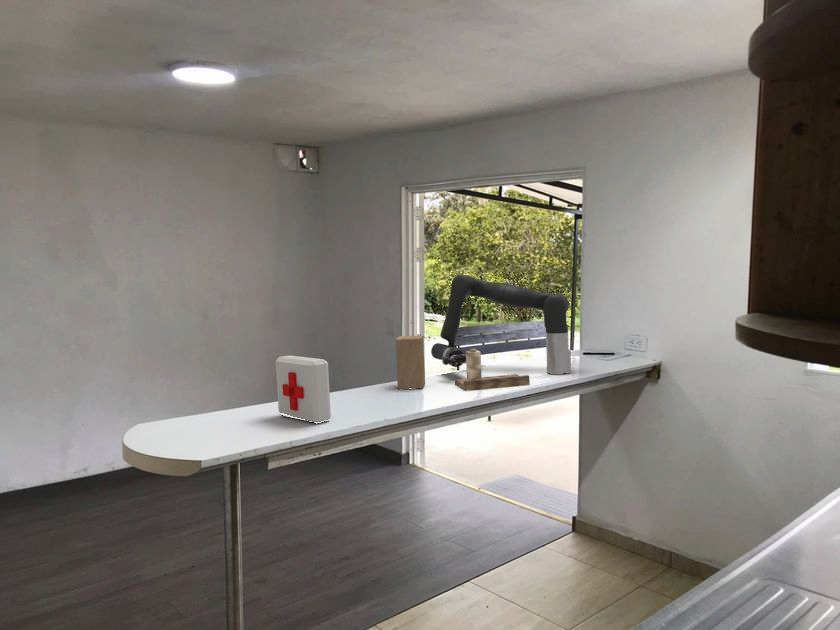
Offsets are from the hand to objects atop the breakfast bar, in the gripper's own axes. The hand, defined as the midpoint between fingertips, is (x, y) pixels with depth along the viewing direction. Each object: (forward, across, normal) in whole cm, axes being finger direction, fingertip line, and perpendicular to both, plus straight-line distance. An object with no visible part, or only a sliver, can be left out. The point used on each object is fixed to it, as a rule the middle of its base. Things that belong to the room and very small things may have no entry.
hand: (465, 362), depth 264 cm
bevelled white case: (+36, -67, +9) cm, 77 cm away
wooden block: (-2, -22, +9) cm, 24 cm away
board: (+8, +8, +8) cm, 14 cm away
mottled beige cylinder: (+10, 0, +6) cm, 12 cm away
